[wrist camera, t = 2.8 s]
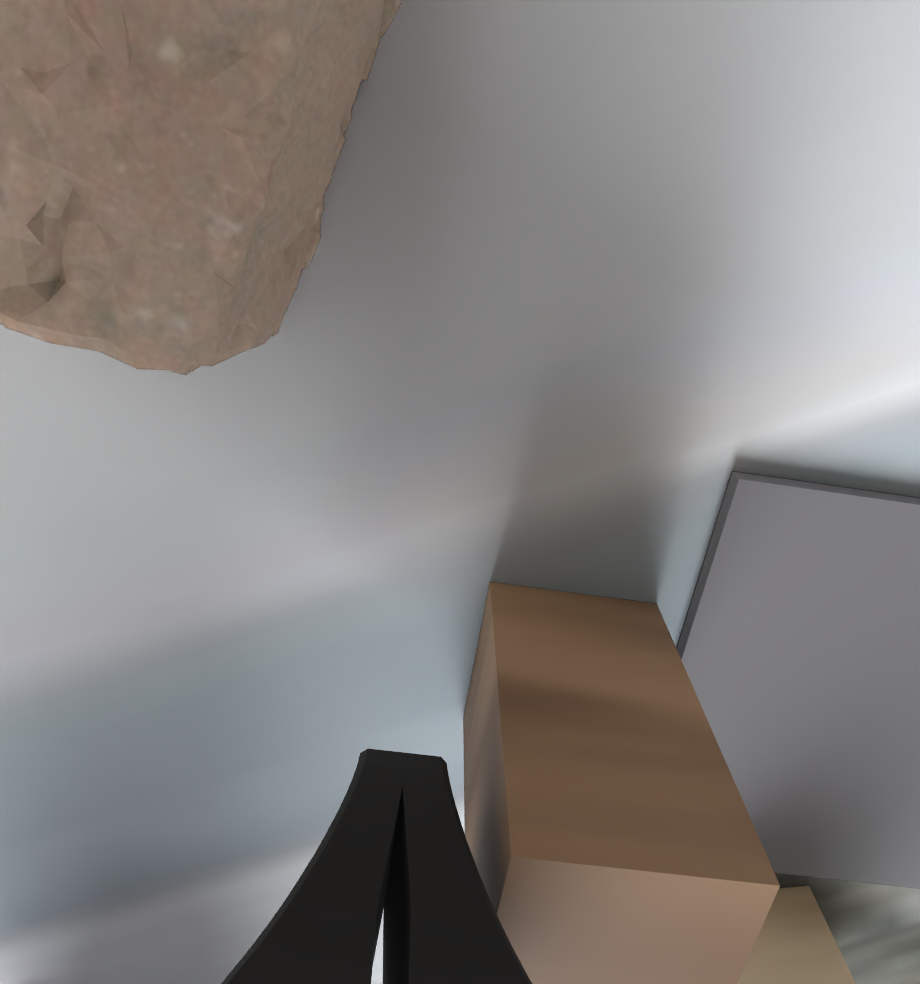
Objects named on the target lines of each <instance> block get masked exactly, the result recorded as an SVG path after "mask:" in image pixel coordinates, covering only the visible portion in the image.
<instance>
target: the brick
mask: <svg viewBox="0 0 920 984" xmlns="http://www.w3.org/2000/svg"><path fill="white" fill-rule="evenodd" d="M401 1H402V0H0V323H1V324H2V325H3V326H5V327H6V328H8V329H11V330H14V331H17V332H20V333H23V334H26V335H29V336H32V337H35V338H38V339H40V340H43V341H46V342H49V343H53V344H59V345H65V346H71V347H77V348H83V349H89V350H95V351H99V352H101V353H103V354H106V355H108V356H110V357H112V358H115V359H117V360H119V361H121V362H123V363H126V364H128V365H130V366H132V367H134V368H137V369H149V370H168V371H172V372H176V373H179V374H183V375H187V374H188V373H190V372H192V371H193V370H195V369H197V368H198V367H200V366H213V365H215V364H218V363H220V362H222V361H224V360H226V359H228V358H231V357H233V356H235V355H237V354H239V353H242V352H244V351H247V350H249V349H252V348H254V347H257V346H260V345H262V344H264V343H265V342H266V341H267V340H268V338H269V337H270V336H274V335H275V334H277V333H278V330H279V328H280V325H281V322H282V319H283V317H284V314H285V311H286V309H287V307H288V305H289V303H290V300H291V298H292V296H293V294H294V292H295V290H296V288H297V283H298V280H299V277H300V274H301V272H302V269H303V268H306V267H309V264H310V262H311V260H312V258H313V255H314V253H315V251H316V249H317V246H318V244H319V240H320V237H321V235H320V233H319V232H320V227H321V213H322V212H323V210H324V204H323V196H324V193H325V192H326V190H327V188H328V186H329V184H330V183H331V175H332V173H333V171H334V168H335V165H336V163H337V160H338V157H339V155H340V152H341V150H342V147H343V144H344V142H345V138H344V136H343V134H344V132H345V131H346V129H347V127H348V125H349V123H350V121H351V119H352V114H351V108H352V106H353V104H354V103H355V101H356V98H357V92H358V89H359V86H360V83H361V82H362V81H363V80H364V79H366V80H368V75H369V73H370V70H371V67H372V64H373V61H374V58H375V55H376V51H377V48H378V44H379V40H380V39H381V37H382V36H383V35H384V33H385V32H386V30H387V29H388V28H389V26H390V24H391V22H392V20H393V18H394V16H395V14H396V12H397V10H398V8H399V6H400V3H401Z"/></svg>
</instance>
